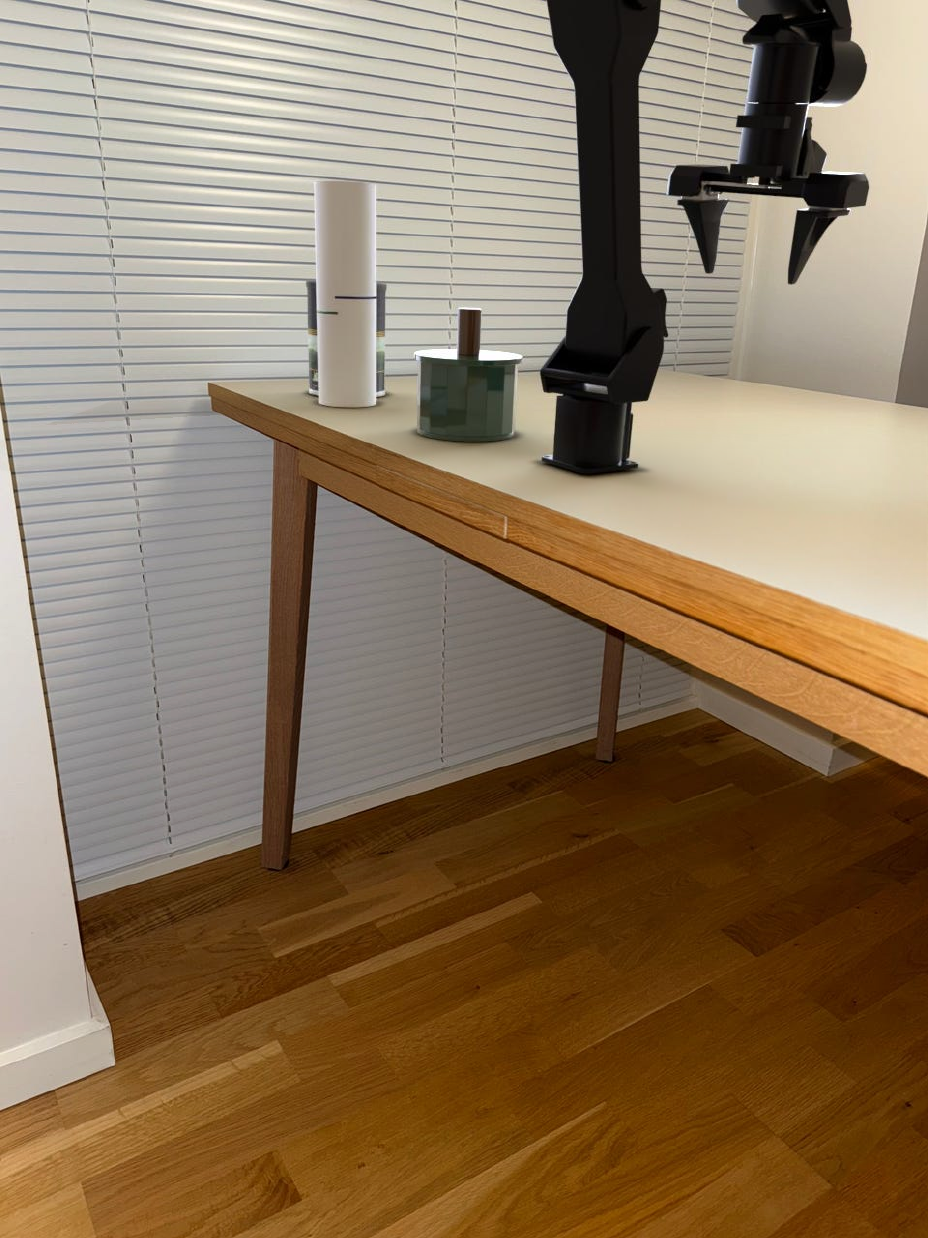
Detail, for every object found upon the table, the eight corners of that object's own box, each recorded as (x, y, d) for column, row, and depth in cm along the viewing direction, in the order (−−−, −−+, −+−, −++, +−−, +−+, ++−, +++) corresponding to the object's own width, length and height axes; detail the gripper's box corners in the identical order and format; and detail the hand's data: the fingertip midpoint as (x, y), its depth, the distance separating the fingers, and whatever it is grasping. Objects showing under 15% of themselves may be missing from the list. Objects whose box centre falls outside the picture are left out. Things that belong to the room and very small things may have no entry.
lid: (451, 374, 89) (453, 311, 87) (394, 362, 98) (394, 305, 96) (543, 370, 95) (547, 311, 93) (482, 359, 104) (484, 305, 102)
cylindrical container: (372, 408, 113) (372, 181, 104) (314, 406, 113) (309, 179, 104) (379, 400, 120) (379, 186, 111) (323, 398, 120) (319, 184, 111)
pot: (451, 444, 92) (453, 367, 90) (400, 428, 100) (401, 356, 98) (533, 437, 98) (537, 364, 95) (478, 422, 106) (481, 354, 103)
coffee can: (381, 400, 120) (381, 284, 115) (301, 397, 120) (298, 281, 115) (390, 389, 129) (390, 282, 124) (316, 387, 130) (314, 279, 125)
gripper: (908, 107, 87) (870, 281, 95) (729, 104, 98) (708, 261, 106) (861, 104, 80) (824, 293, 88) (673, 102, 91) (654, 270, 99)
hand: (749, 278), depth 95 cm, fingers open, 9 cm apart
